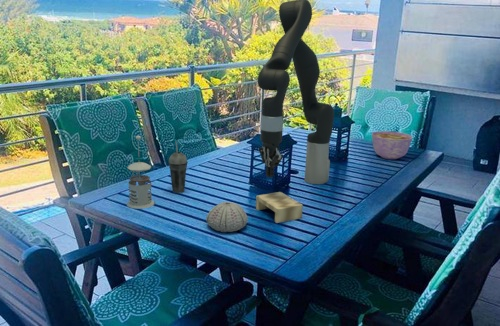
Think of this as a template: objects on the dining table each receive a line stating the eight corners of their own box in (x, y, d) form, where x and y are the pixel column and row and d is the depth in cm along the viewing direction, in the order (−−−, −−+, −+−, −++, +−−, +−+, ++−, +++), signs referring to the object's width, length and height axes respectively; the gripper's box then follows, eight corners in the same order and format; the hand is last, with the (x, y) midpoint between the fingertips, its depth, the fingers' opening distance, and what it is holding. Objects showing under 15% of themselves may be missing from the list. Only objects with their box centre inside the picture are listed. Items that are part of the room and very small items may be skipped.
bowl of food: (367, 151, 254) (369, 130, 251) (406, 153, 251) (408, 132, 248) (371, 161, 235) (373, 138, 232) (413, 163, 232) (416, 140, 229)
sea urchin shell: (214, 237, 145) (214, 213, 143) (200, 221, 157) (200, 198, 155) (254, 231, 150) (255, 207, 148) (238, 216, 162) (238, 194, 160)
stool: (280, 191, 172) (302, 204, 161) (279, 204, 174) (301, 218, 162) (256, 195, 167) (277, 209, 156) (255, 208, 169) (277, 223, 157)
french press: (130, 210, 164) (127, 139, 157) (122, 199, 174) (119, 132, 167) (158, 206, 169) (156, 137, 162) (148, 195, 178) (146, 130, 172)
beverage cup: (191, 189, 187) (190, 140, 181) (182, 195, 180) (182, 144, 175) (174, 187, 189) (173, 138, 183) (165, 192, 182) (164, 142, 177)
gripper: (291, 131, 159) (288, 180, 164) (270, 124, 170) (269, 170, 175) (272, 133, 156) (270, 183, 160) (252, 125, 167) (251, 172, 171)
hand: (269, 176), depth 168 cm, fingers closed
